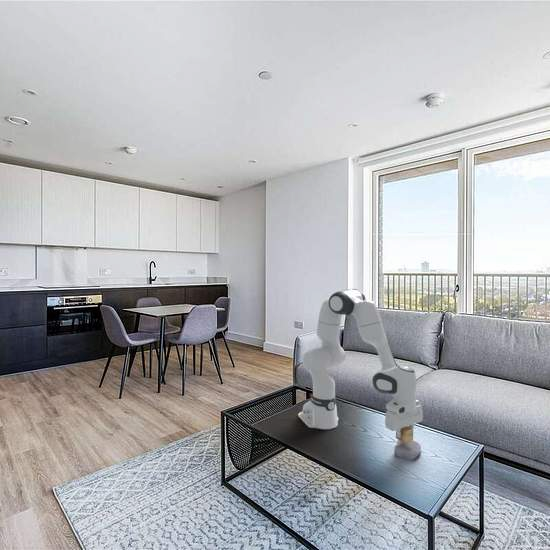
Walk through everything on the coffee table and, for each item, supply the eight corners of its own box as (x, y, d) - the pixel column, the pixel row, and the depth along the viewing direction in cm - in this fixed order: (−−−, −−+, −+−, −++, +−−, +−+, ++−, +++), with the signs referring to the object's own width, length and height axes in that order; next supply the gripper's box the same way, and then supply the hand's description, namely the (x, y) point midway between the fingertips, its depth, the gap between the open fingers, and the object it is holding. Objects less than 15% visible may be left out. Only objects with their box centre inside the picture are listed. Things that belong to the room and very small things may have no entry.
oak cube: (395, 438, 152) (396, 426, 151) (403, 435, 154) (403, 424, 154) (405, 443, 147) (405, 431, 147) (413, 440, 150) (413, 429, 150)
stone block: (420, 453, 153) (397, 443, 158) (423, 443, 152) (400, 433, 157) (416, 467, 143) (392, 456, 148) (419, 457, 142) (394, 446, 147)
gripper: (414, 397, 158) (414, 427, 159) (382, 405, 148) (382, 437, 148) (427, 401, 153) (426, 432, 153) (394, 411, 142) (394, 444, 143)
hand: (404, 435), depth 151 cm, fingers closed on oak cube, 5 cm apart
